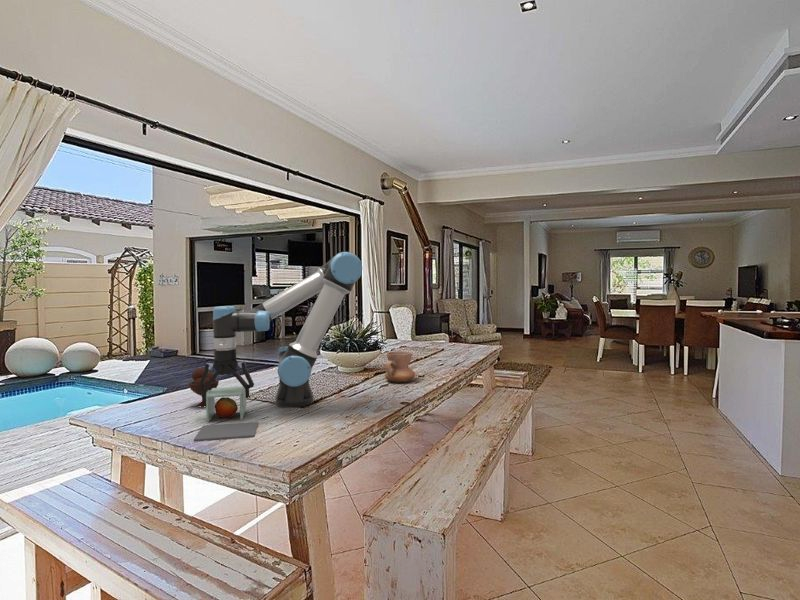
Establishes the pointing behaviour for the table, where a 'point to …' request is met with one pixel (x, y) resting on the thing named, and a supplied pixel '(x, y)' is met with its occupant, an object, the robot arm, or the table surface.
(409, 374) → the ceramic jug
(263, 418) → the table surface
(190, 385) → the ice cream bowl
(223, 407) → the fruit
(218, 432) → the mat
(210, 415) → the cover
